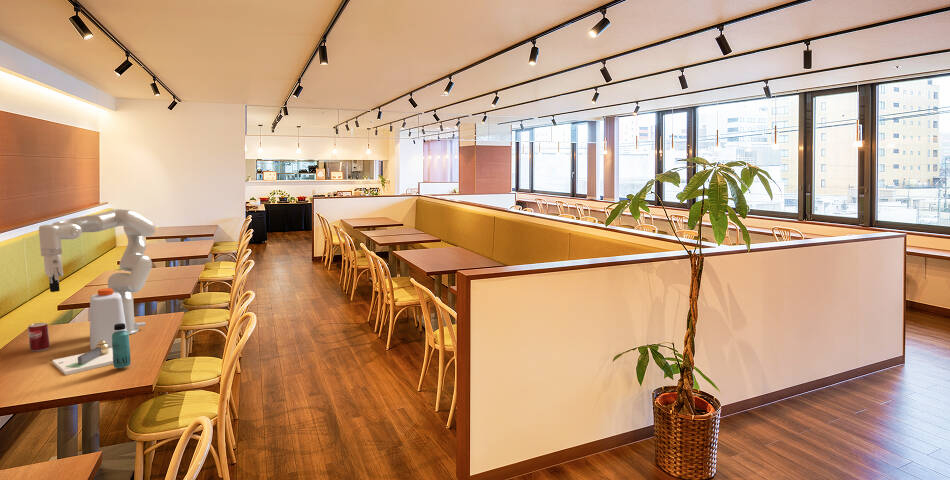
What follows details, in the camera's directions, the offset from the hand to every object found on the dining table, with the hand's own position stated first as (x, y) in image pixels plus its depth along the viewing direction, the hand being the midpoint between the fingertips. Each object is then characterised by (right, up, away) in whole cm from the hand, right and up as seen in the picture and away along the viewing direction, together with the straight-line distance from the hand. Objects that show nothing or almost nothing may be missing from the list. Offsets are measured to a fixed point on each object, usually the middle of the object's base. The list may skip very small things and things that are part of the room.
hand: (54, 291), depth 244 cm
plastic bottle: (+15, -28, +14) cm, 35 cm away
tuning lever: (+23, -29, -7) cm, 37 cm away
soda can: (-13, -28, +8) cm, 32 cm away
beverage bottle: (+40, -32, -14) cm, 53 cm away
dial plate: (+21, -31, -7) cm, 38 cm away
